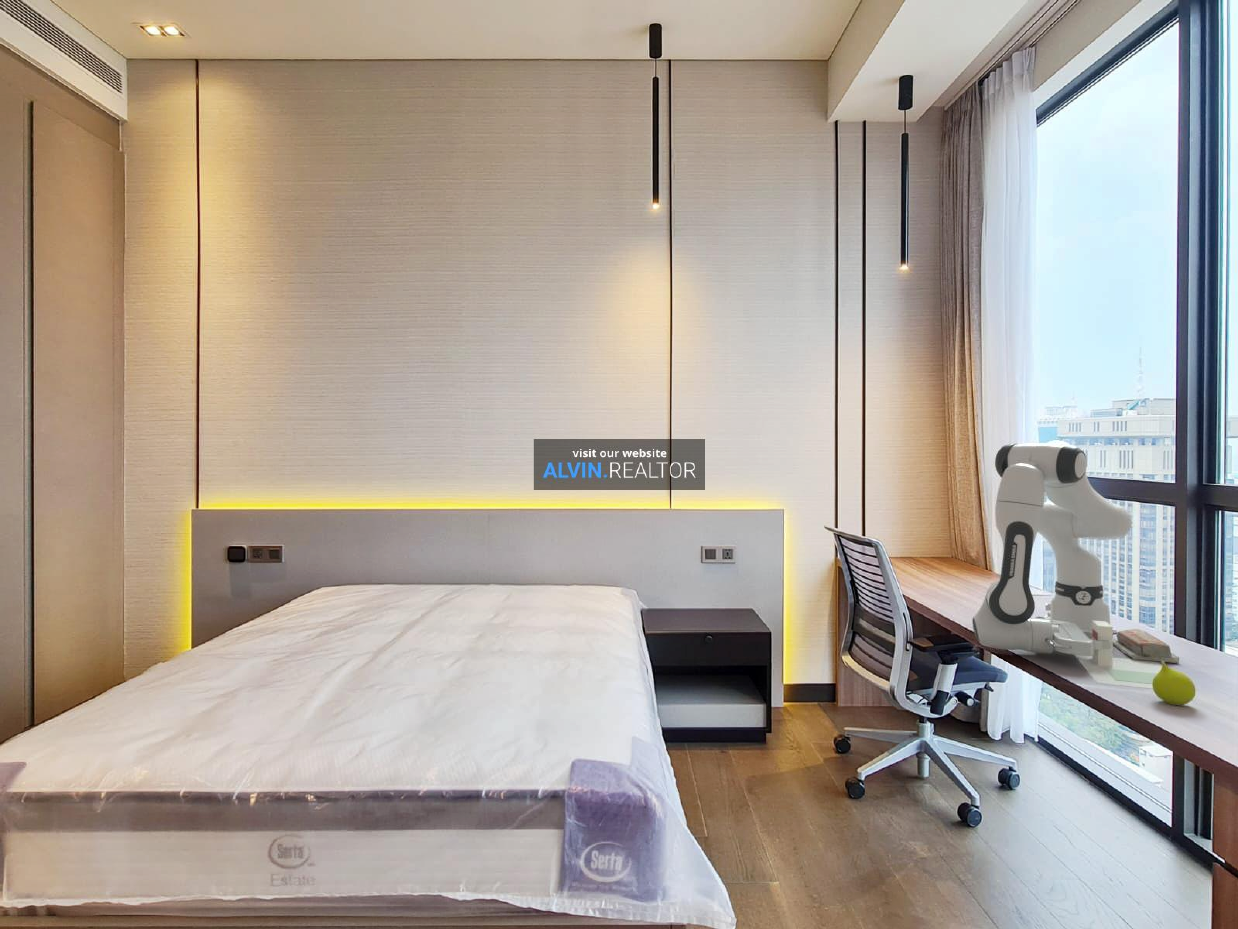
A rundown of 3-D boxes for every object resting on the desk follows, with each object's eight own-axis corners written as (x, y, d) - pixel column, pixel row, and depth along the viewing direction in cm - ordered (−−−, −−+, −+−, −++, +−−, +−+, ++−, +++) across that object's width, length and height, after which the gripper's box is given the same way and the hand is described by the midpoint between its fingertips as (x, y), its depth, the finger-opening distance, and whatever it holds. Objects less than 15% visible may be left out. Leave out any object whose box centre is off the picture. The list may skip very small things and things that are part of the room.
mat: (1073, 655, 176) (1073, 653, 176) (1157, 663, 169) (1157, 661, 169) (1096, 684, 154) (1096, 682, 154) (1194, 695, 147) (1194, 692, 147)
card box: (1092, 658, 172) (1091, 620, 172) (1106, 660, 170) (1106, 621, 170) (1097, 665, 166) (1097, 625, 166) (1112, 666, 165) (1112, 627, 165)
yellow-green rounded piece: (1145, 697, 146) (1145, 652, 146) (1181, 698, 145) (1181, 653, 145) (1165, 709, 139) (1165, 662, 139) (1203, 711, 138) (1203, 663, 138)
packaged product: (1180, 645, 166) (1132, 641, 170) (1180, 664, 166) (1133, 660, 170) (1151, 628, 183) (1108, 626, 187) (1151, 646, 183) (1108, 643, 186)
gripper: (1050, 633, 164) (1118, 639, 158) (1036, 615, 183) (1096, 619, 177) (1050, 659, 164) (1118, 665, 159) (1036, 637, 183) (1096, 642, 177)
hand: (1106, 641), depth 168 cm, fingers closed on card box, 6 cm apart
